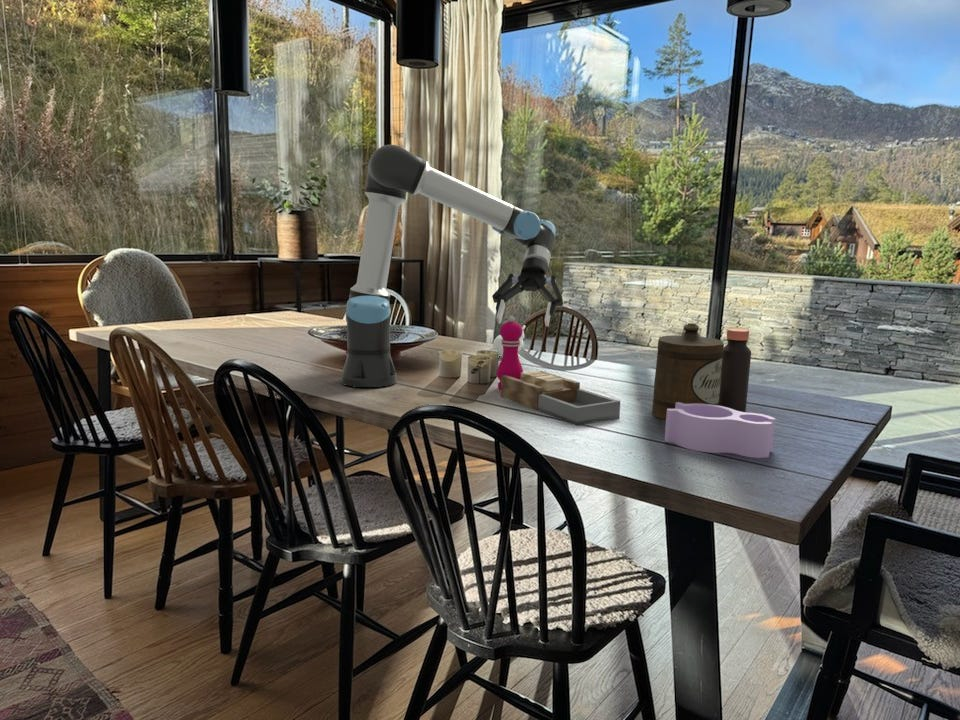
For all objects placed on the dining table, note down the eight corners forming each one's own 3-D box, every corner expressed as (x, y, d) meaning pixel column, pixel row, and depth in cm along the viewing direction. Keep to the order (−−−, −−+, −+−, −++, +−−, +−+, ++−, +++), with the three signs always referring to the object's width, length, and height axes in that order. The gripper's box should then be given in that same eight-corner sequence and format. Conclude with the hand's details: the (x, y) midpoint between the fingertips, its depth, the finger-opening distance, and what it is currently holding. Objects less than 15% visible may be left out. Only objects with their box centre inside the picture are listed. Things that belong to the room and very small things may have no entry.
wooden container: (710, 427, 150) (719, 329, 146) (644, 417, 157) (651, 324, 153) (722, 413, 163) (730, 322, 159) (661, 404, 170) (667, 317, 166)
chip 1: (520, 382, 173) (521, 372, 173) (536, 380, 176) (536, 370, 176) (532, 386, 169) (532, 376, 169) (548, 384, 172) (548, 374, 171)
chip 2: (534, 386, 168) (535, 377, 168) (550, 384, 171) (551, 375, 171) (547, 391, 164) (547, 381, 164) (563, 388, 167) (563, 379, 166)
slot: (500, 396, 175) (501, 375, 174) (541, 391, 181) (541, 371, 180) (537, 410, 162) (537, 388, 161) (578, 404, 169) (579, 382, 168)
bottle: (747, 410, 166) (755, 329, 162) (742, 416, 160) (750, 332, 156) (719, 406, 169) (726, 327, 165) (713, 412, 163) (720, 330, 160)
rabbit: (520, 354, 235) (521, 320, 233) (529, 359, 226) (530, 323, 224) (487, 355, 232) (487, 320, 230) (494, 360, 224) (495, 324, 221)
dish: (538, 410, 161) (538, 394, 161) (579, 404, 168) (580, 388, 167) (576, 425, 150) (576, 407, 149) (619, 417, 157) (620, 401, 156)
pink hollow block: (775, 446, 138) (778, 414, 137) (765, 463, 128) (768, 428, 126) (677, 430, 148) (679, 399, 147) (660, 444, 138) (662, 412, 136)
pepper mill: (523, 387, 186) (525, 314, 182) (522, 393, 179) (524, 318, 175) (497, 386, 186) (498, 313, 183) (495, 392, 179) (496, 317, 176)
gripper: (579, 274, 198) (568, 332, 186) (497, 271, 205) (481, 327, 194) (577, 257, 192) (565, 316, 180) (492, 254, 199) (476, 311, 188)
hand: (522, 322), depth 187 cm, fingers open, 13 cm apart
